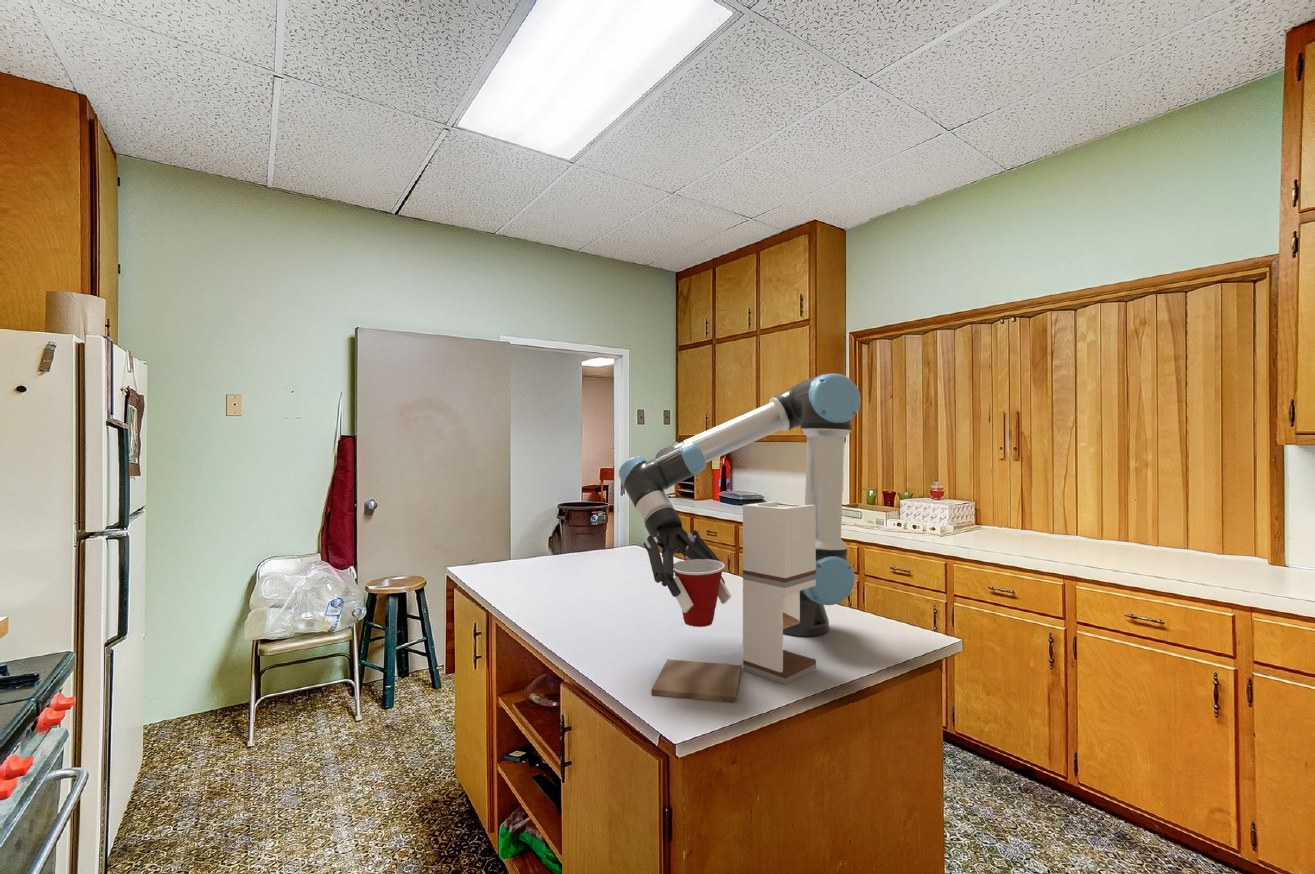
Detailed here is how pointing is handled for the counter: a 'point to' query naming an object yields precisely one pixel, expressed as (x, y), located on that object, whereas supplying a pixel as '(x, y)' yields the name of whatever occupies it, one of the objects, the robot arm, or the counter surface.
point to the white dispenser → (776, 585)
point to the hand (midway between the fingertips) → (708, 604)
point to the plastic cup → (700, 588)
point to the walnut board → (698, 680)
